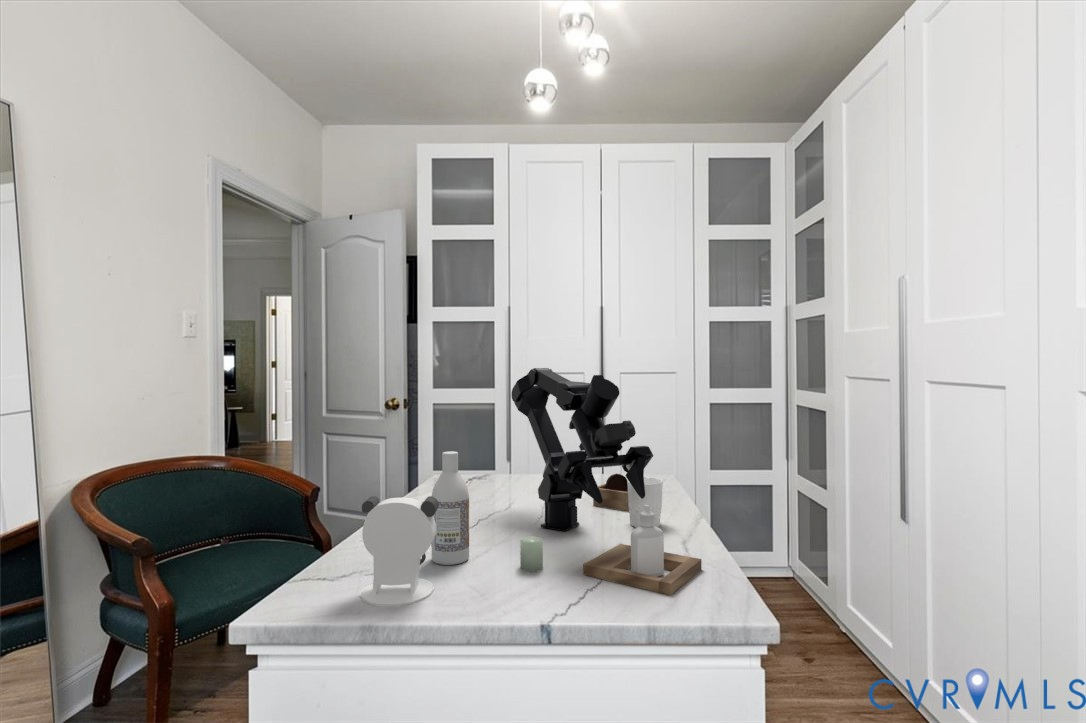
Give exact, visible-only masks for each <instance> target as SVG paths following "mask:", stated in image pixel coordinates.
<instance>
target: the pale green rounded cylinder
mask: <svg viewBox="0 0 1086 723" xmlns="http://www.w3.org/2000/svg"><path fill="white" fill-rule="evenodd" d="M543 541H544V540H543V538H542V537H538V536H524V537H522V538H520V546H519V547H520V550H519V552H520V556H519V558H520V563H519V565H520V569H521V571H523V572H528V573H529V572H530V573H531V572H534V573H535V572H540V571H542V570H543V568H544V563H543V562H544V557H543V556H544V554H543V553H544V552H543V550H544V548H543V546H544V542H543Z"/></svg>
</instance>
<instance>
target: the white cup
mask: <svg viewBox="0 0 1086 723" xmlns="http://www.w3.org/2000/svg"><path fill="white" fill-rule="evenodd" d="M627 486H628V506H629V511H628V513H629V524H630V526H631V527H633V526H634V528H637V527H639V526H641V525H640V513H641V512H643V511H644V509H645V505H649V507H650V511H651V512H652V513H654V526H656V527H658V528H660V526H661V514H662V506H663V505H662V504H663V480H662V479H660V478H656V477H652V476H651V477H650V476H647V477H646V476H644V486H645V497H644V498H643V499H641V498H640V496H639V495H638V494H637V493H636V491H635V490H634V488H633V486H632V485H631V483H630V482H629V480H628V479H627Z"/></svg>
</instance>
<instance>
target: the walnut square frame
mask: <svg viewBox="0 0 1086 723" xmlns="http://www.w3.org/2000/svg"><path fill="white" fill-rule="evenodd" d="M630 568H631V544H629V545H628V544H624V543H619V544H617V545H615V546H613V547H612V548H610V549H608V550H606V551H605V552H602V553H601V554H599V555H597V556H595V557H594V558H592V559H590V560H588V561H586V562H584V563H583V564H582V575H583V576H587V577H590V578H596V579H599V580H605V581H608V582H613V583H617V584H621V585H626V586H630V587H635V588H638V589H643V590H648V591H652V592H656V593H660V594H665V595H668V596H672V595H673V594H674V593H675V592H676V591H677V590H679V589H680V588H681V587H682V586H683V585H685V584H686V583H687V582H689V580H690V579H692V578H693V577H694V576H695V575H697V574H698V573H699V572H701V570H702V558H697V557H692V556H687V555H681V554H676V553H672V552H671V553H670V552H668V551H667V552H666V551H664V570H668V571H670V572H669V573H667V575H664V576H663V577H660V576H659V577H655V576H650V575H646V574H641V573H636V572H632V571H631V570H628V569H630Z"/></svg>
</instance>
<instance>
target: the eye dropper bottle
mask: <svg viewBox="0 0 1086 723" xmlns="http://www.w3.org/2000/svg"><path fill="white" fill-rule="evenodd" d="M640 525H641V526H639V527H634V529H633V530H632V531H631V534H630V546H631V567H630V571H632V572H636V573H641V574H646V575H650V576H655V577H659V578H660V577H661V576H663V575H664V573H665V569H664V552H665V547H664V546H665V539H664V535H665V534H664V531H663V530H662V529H661V528H660V527H656V526H654V513H652V512H651V511H650V507H649V505H645V509H644V511H643V512H641V513H640Z"/></svg>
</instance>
